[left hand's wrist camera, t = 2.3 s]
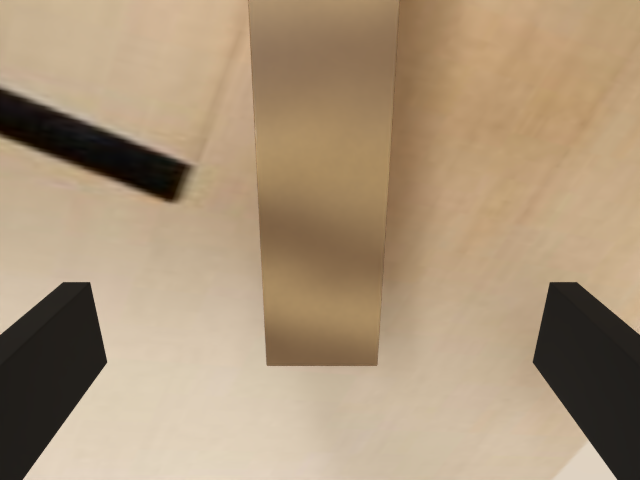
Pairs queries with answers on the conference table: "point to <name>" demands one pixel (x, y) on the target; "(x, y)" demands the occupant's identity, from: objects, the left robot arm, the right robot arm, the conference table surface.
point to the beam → (323, 173)
